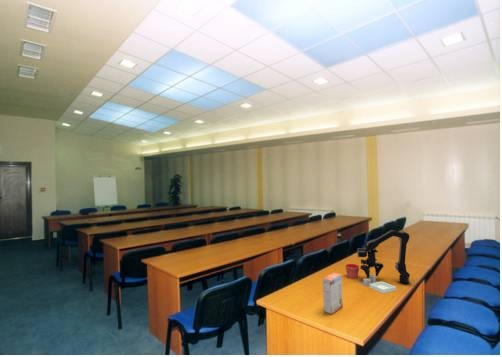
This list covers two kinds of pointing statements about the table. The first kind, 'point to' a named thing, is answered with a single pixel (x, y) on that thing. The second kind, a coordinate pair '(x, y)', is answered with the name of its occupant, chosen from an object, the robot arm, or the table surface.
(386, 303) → the table surface
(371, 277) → the light grey cube
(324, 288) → the cracker box
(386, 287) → the tray
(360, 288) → the table surface
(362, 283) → the lid board
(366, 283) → the grey cube
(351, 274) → the flower pot
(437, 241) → the table surface
